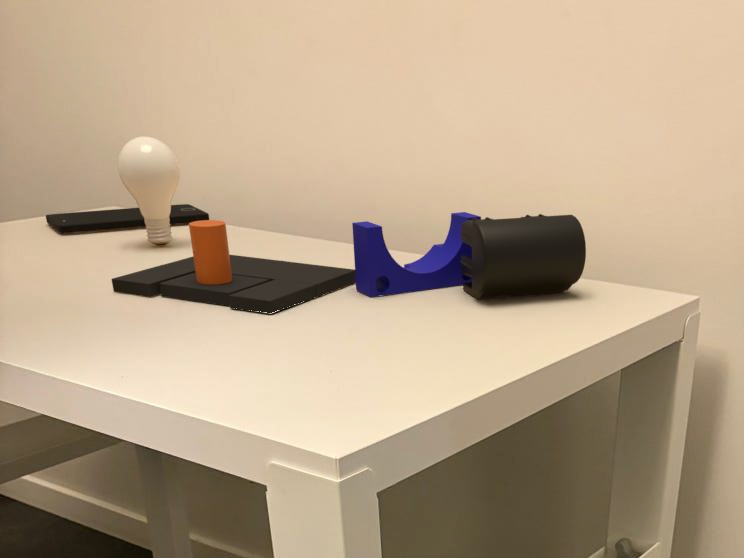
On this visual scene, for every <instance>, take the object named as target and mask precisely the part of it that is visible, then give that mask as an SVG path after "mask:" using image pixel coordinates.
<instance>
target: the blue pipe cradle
mask: <svg viewBox="0 0 744 558" xmlns="http://www.w3.org/2000/svg"><path fill="white" fill-rule="evenodd" d="M473 218H475V219H478V220H480V219H482V216H480V215H477V214H473V213H470V212H466V211H459V212H451V214H450V224H449V229H448V232H447V235H446V237H445V238H446V239H445V240H444V242H443V243H438V244H433V245H432V246H431V248H430V249H429V250H428V251H427V252H426V253H425V254H424V255H423V256H421V257H420V258H418V259H416V260H414V261H412V262H409V263H405V264H403V266H402V265H400V264H399V263H398V262H397V261H396V260H395V259H394V257H393V256H392V254H391V253H390V251H389V249H388V247H387V244H386V241H385V238H384V232H383V226H382V225H379V224H375V223H373V222H371V221H368V220H367V221H356V222H352V225H351V226H352V243H353V257H354V258H353V259H354V270H355V277H356V283H355V290H357V291H356V292H358V291H359V292H358V293H360V292H361V293H360V294H362V293H363V294H362V295H364V294H365V296H367V297H369V296H370V297H369V298H373V297H372V296H377V297H380V296H379V295H384V296H389V295H388V294H391V295H397V294H396V293H399V294H406V293H413V291H414V292H421V291H428V290H434V289H443V288H450V287H456V286H463V283H464V282H472V278H470V277H468V276H467V275H465V274H464V273H463V272H462V269H461V263H460V260H461V256H464V255H465V256H467V257H469V258H471V259H472V248H471V246H470V245H468V244H466V243H464V242H462V241H461V237H460V234H461V226H462V224H463V222H465V221H467V220H472V219H473ZM403 292H404V293H403ZM405 292H406V293H405Z"/></svg>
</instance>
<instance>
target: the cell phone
mask: <svg viewBox="0 0 744 558" xmlns="http://www.w3.org/2000/svg"><path fill="white" fill-rule="evenodd" d="M169 219H170V222H169V223H170V225H179V224H189V223H191V222H194V221H202V220H210V215H209V212H206V211H204V210H203V209H200V208H198V207H196V206H194V205H191V204H187V203H186V204H185V203H183V204H181V203H180V204H171V212H170V216H169ZM45 220H46V223H47V224H48V225H49V226H51V228H53V229H54V230H55V231H56V232H58V233H59V234H73V233H83V232H96V231H109V230H119V229H132V228H142V227H146V224H145V221H144V217H143V216H142V214H141V212H140V210H139V207H129V208H127V207H126V208H116V209H114V208H113V209H101V210H87V211H75V212H62V213H61V212H60V213H50V214H45Z"/></svg>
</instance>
